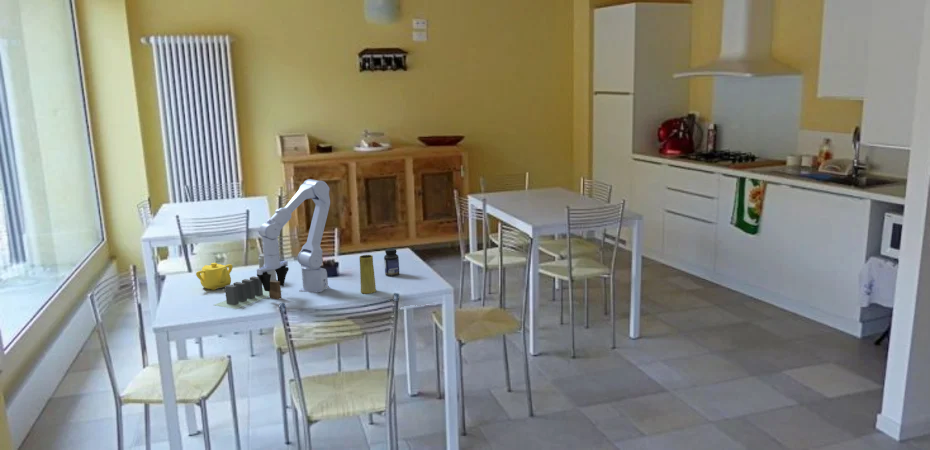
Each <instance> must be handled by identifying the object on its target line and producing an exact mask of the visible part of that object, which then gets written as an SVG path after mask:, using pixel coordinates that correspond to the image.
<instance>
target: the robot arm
mask: <svg viewBox="0 0 930 450" xmlns="http://www.w3.org/2000/svg"><path fill="white" fill-rule="evenodd" d="M330 190H331V189H330V187H329V185H328V184H327V183H326V181H324V180H316V179H313V178H308V179H306V180H304V182H303V183H302V184H301V185H299V188H298V190H297V191H296V192H295V194H294V195H293V196H292V197H291V199H290V200H289V201H288V202H287V204H286V205H285V206H284V207H280V208H276V210H274V214H272V216H271V217H269V218H268V219H267V220H266V221H267V222H263V223H262V224H261V225H260V227H259V230H258V234H259V235H260V237H261V239H262V251H263V252H262V254H264V265H263V267H261V268H259V267H258V268H256V277H258V278H259V279H260V281H261V283H262V288H264V290H265V291H270V278H271V274H268V273H267V272H269V271H272V270H275V271H276V279H277V281H280V287H284V286H285V281H286V276H287V274H288V272H289V269H290V268H289V267H288V266H289V263H288V260H282V261H281V259H280V250H279V237H280V235H281V230H282V229H283V228H284V226H285V225H286V224H287V223H288V222H289V221H290V220H291V219H292V214H293V212H294V211H295V210H296V209H297V208H299V206H301V204H302V203H304V201H305V200H310V199H311V200H312V201H313V203H314V205H315V206H314V209H313V210H314V211H313V215H312V217H311V223H310V227H309V230H308V235H307V239H306V242H305V243H304V244H303V245H302V247H301V250H300V251H299V252H298V254H297V262H298V264H299V265H300V266H301V267H300V268H301V277H302V278H301V280H302V288H300V289H299V290H298V291H299V292H304V293H305V292H306V293H307V292H308V293H309V292H311V293H322V292H324V291H325V290H326V289H328V288H329V286H330V285H329V281H328V272H327V269H326V268H323V267H321V266H322V264H323V249H322V246H321V243H322V239H323V235H324V230H325V227H326V222H327V220H328V219H327V218H328V214H329V212H330V211H329V210H330V206H331V198H330Z"/></svg>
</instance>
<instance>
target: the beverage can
mask: <svg viewBox="0 0 930 450" xmlns="http://www.w3.org/2000/svg"><path fill="white" fill-rule="evenodd" d="M257 259H258V266H259V267H258V269H259V268H261V267H263V265H264V253H260V254H258V258H257ZM267 273H268V274H271V278H270V280H275V281H277V274H276V271H275V270H272V271H269V272H267Z"/></svg>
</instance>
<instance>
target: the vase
mask: <svg viewBox="0 0 930 450" xmlns="http://www.w3.org/2000/svg"><path fill="white" fill-rule="evenodd" d="M373 256H374V255H372V254H362V255H360V256H359V272H360V273H359V275H360V294H366V295H367V294H374V293H376V292H377V288H376V278H375V277H376V276H375V267H374V258H373Z"/></svg>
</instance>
